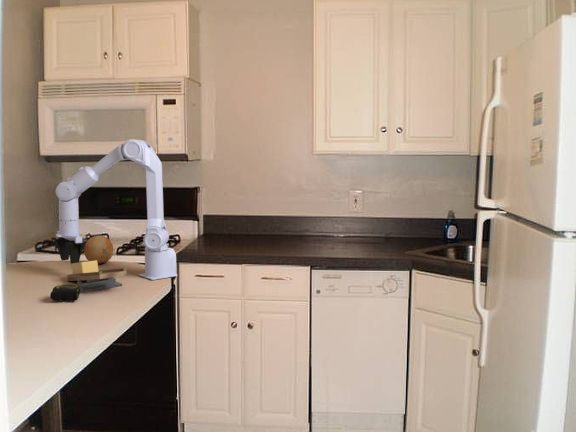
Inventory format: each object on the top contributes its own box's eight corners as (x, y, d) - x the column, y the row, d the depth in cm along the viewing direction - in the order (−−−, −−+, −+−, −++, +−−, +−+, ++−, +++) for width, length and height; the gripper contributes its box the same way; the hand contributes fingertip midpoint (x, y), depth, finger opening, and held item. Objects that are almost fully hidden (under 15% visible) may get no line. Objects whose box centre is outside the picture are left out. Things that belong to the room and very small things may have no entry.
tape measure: (49, 304, 139) (49, 290, 138) (56, 296, 145) (56, 283, 145) (77, 303, 140) (76, 289, 139) (82, 296, 147) (82, 283, 146)
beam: (93, 279, 167) (92, 271, 167) (127, 277, 151) (126, 267, 151) (68, 283, 161) (67, 274, 162) (100, 281, 146) (99, 271, 146)
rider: (88, 274, 166) (86, 261, 166) (98, 273, 161) (97, 260, 161) (72, 276, 163) (71, 263, 163) (83, 275, 157) (81, 262, 157)
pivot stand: (109, 280, 164) (109, 274, 164) (122, 285, 158) (122, 279, 158) (70, 286, 155) (70, 280, 155) (82, 292, 150) (82, 285, 149)
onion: (96, 268, 179) (95, 239, 178) (78, 264, 185) (77, 235, 184) (119, 263, 187) (119, 235, 186) (101, 259, 193) (101, 232, 192)
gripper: (47, 218, 170) (48, 259, 172) (65, 223, 160) (66, 267, 162) (69, 216, 175) (69, 257, 177) (88, 221, 165) (89, 264, 167)
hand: (69, 262), depth 169 cm, fingers open, 7 cm apart
